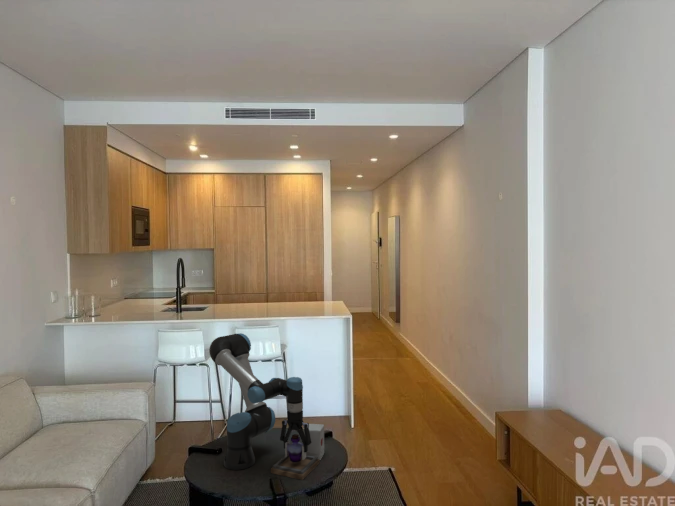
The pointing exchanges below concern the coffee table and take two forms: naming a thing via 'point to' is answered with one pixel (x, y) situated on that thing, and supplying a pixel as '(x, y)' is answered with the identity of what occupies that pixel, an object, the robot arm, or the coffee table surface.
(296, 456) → the potion bottle
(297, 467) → the jig plate
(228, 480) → the coffee table surface
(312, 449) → the supplement box
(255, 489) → the coffee table surface
